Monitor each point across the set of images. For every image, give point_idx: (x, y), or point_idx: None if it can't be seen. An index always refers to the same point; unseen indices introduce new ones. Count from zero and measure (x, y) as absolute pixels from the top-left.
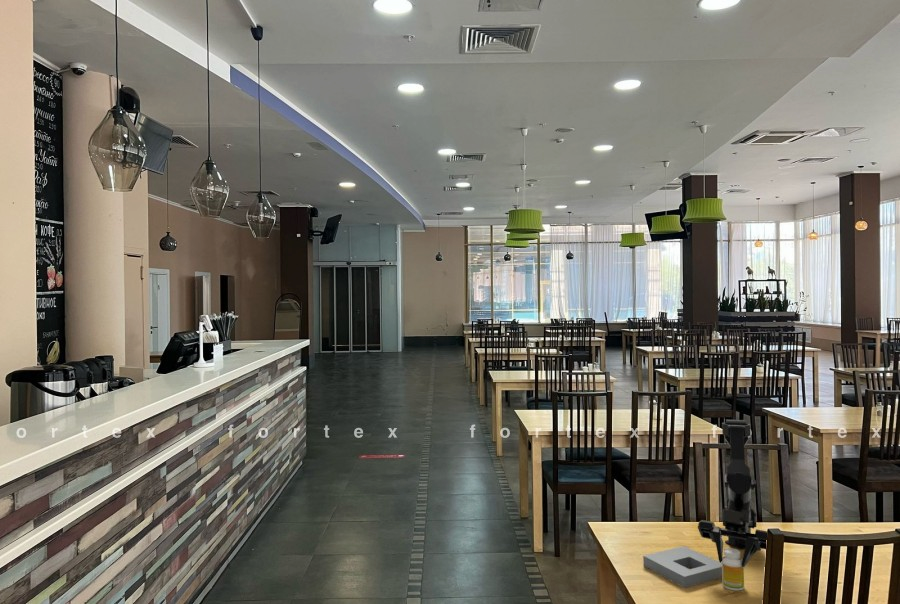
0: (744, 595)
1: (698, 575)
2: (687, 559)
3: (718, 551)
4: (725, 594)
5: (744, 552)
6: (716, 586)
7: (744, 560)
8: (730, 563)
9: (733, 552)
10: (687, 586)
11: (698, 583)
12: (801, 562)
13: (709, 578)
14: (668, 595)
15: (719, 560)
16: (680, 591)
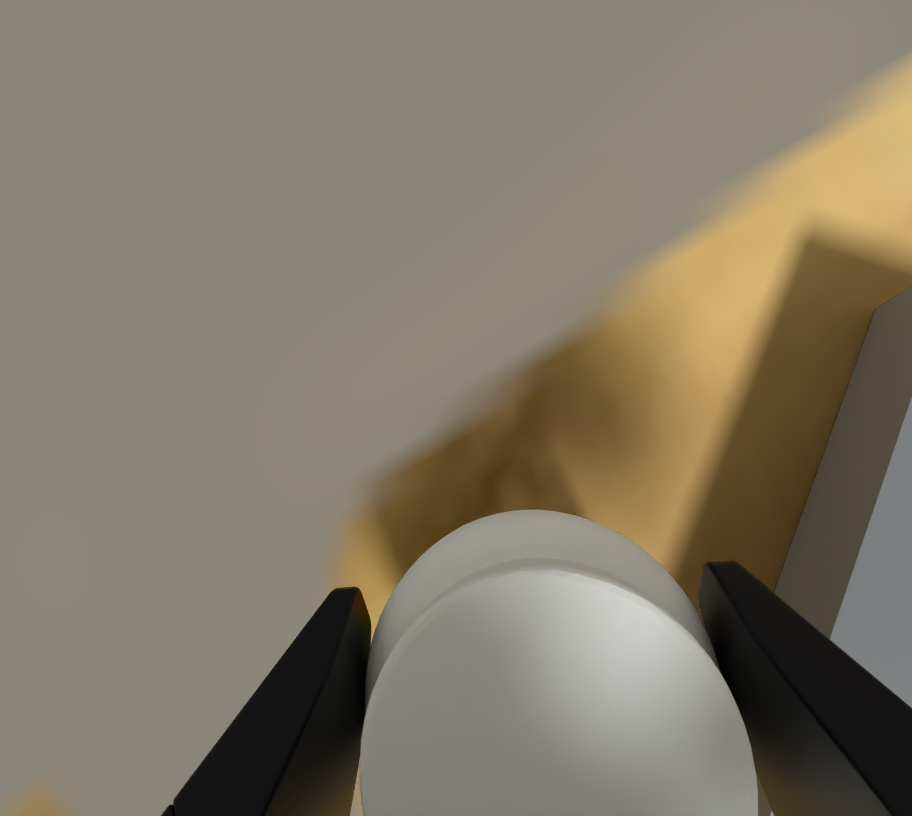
0: (396, 489)
1: (870, 464)
2: None
3: (858, 686)
4: (533, 407)
5: (249, 811)
6: (658, 523)
7: (299, 655)
8: (519, 513)
9: (487, 665)
10: (867, 336)
11: (820, 469)
12: None
13: None
14: (901, 98)
15: (725, 561)
16: (864, 222)
